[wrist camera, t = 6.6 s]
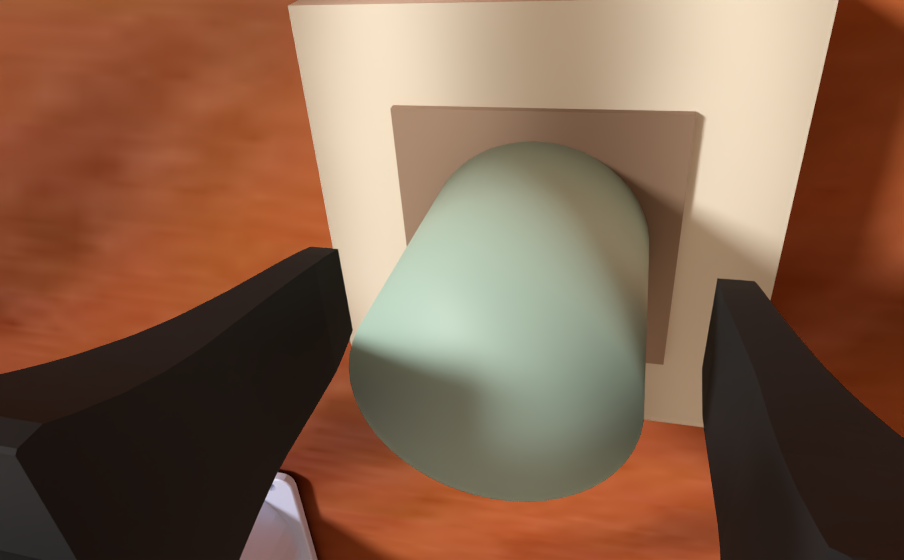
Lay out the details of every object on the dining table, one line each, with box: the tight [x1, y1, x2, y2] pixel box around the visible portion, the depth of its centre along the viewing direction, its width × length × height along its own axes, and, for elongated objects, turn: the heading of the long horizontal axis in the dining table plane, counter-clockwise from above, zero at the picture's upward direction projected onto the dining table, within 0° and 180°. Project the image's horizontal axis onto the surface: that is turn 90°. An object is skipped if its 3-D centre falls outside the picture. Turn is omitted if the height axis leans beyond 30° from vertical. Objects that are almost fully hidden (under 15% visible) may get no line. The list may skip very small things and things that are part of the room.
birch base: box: [288, 0, 839, 427], centre depth 16 cm, size 10×10×3 cm
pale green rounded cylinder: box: [349, 141, 649, 502], centre depth 13 cm, size 5×5×5 cm
